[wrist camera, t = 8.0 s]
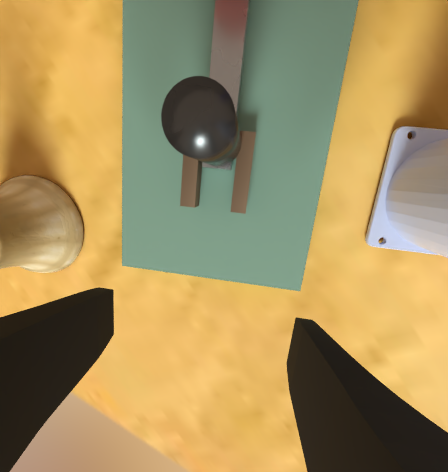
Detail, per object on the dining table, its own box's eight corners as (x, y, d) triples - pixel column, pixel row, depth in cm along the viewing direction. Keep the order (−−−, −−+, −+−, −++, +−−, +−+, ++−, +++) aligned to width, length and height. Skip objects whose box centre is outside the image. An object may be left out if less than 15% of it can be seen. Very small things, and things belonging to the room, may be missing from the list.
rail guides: (255, 136, 16) (255, 131, 14) (245, 211, 17) (245, 213, 16) (190, 129, 16) (185, 125, 15) (185, 203, 17) (180, 205, 16)
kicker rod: (275, -21, 13) (303, -239, 6) (250, 172, 16) (251, 166, 9) (199, -24, 14) (147, -235, 7) (187, 165, 16) (140, 154, 9)
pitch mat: (371, -91, 13) (381, -113, 12) (297, 285, 19) (300, 291, 18) (131, -96, 14) (123, -116, 13) (128, 261, 20) (122, 265, 19)
